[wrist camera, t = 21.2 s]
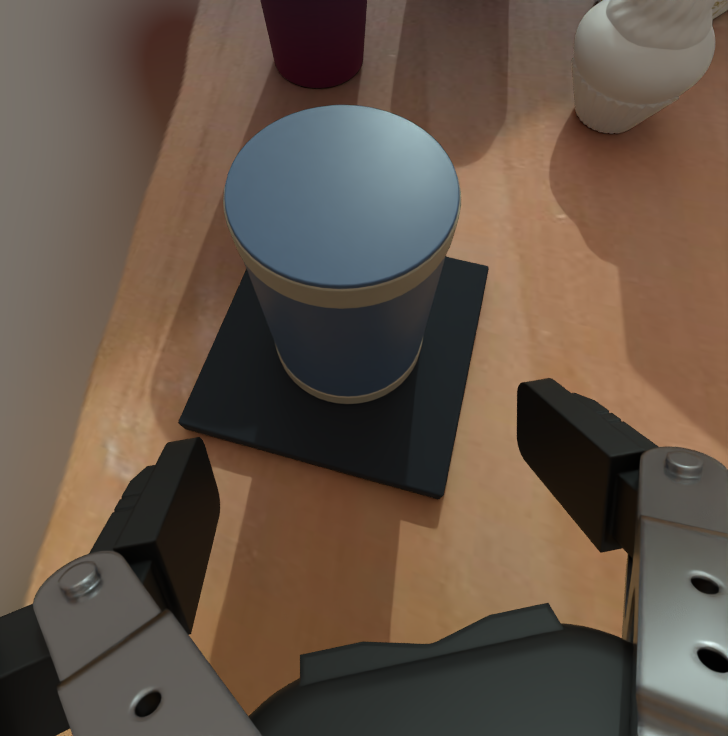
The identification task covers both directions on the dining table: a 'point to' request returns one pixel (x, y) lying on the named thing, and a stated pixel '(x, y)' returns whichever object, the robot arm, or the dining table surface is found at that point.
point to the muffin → (638, 58)
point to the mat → (345, 421)
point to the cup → (316, 39)
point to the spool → (344, 242)
